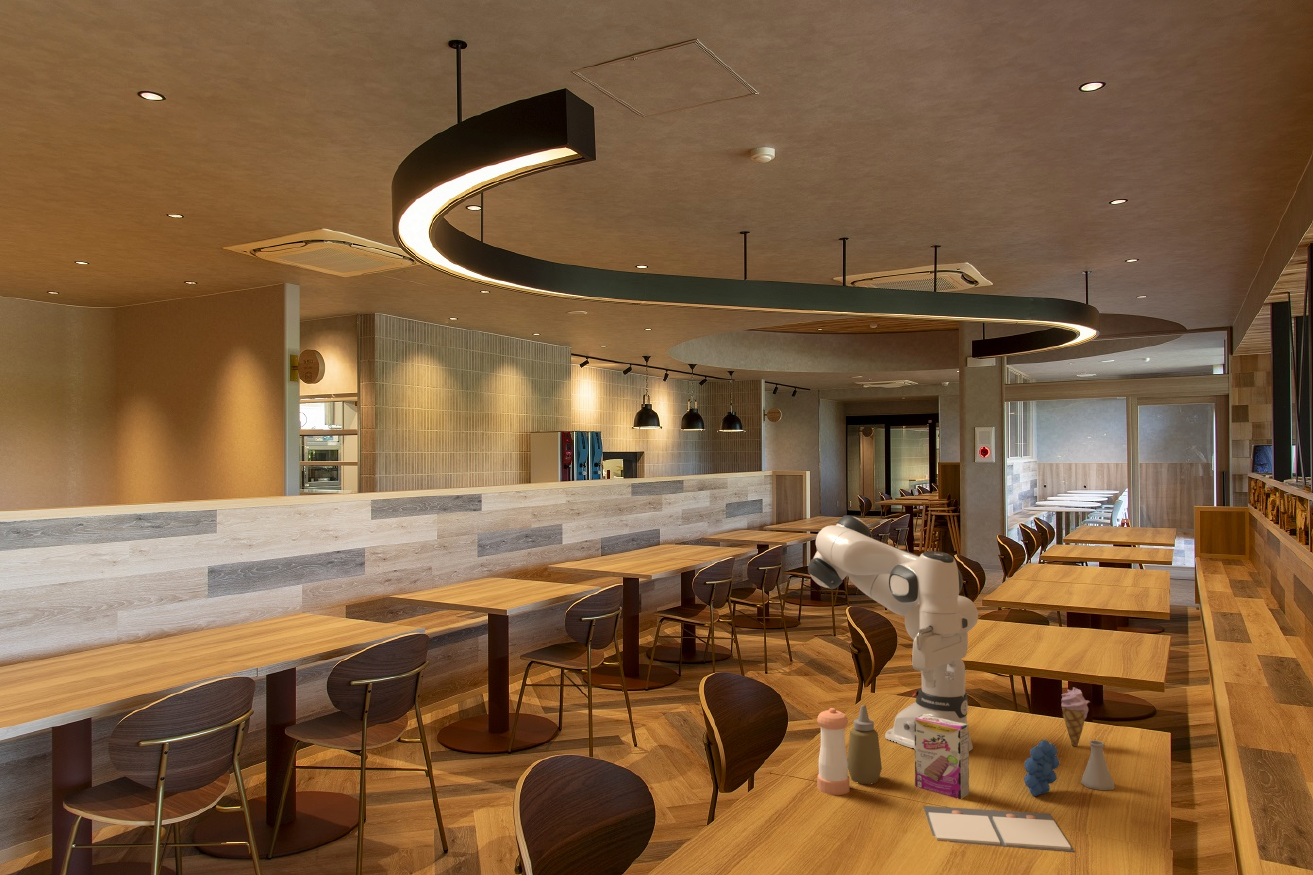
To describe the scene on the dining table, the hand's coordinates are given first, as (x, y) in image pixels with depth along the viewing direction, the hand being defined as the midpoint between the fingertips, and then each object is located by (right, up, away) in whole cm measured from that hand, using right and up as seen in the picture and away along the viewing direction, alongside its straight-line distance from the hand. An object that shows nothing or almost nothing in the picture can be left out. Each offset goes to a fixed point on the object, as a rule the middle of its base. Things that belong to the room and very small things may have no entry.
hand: (940, 683), depth 194 cm
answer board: (+4, -25, -20) cm, 32 cm away
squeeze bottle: (-16, -25, +6) cm, 31 cm away
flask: (+38, -25, +3) cm, 45 cm away
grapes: (+22, -25, -1) cm, 33 cm away
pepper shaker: (-25, -25, +1) cm, 35 cm away
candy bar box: (0, -25, 0) cm, 25 cm away
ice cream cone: (+46, -25, +29) cm, 60 cm away
